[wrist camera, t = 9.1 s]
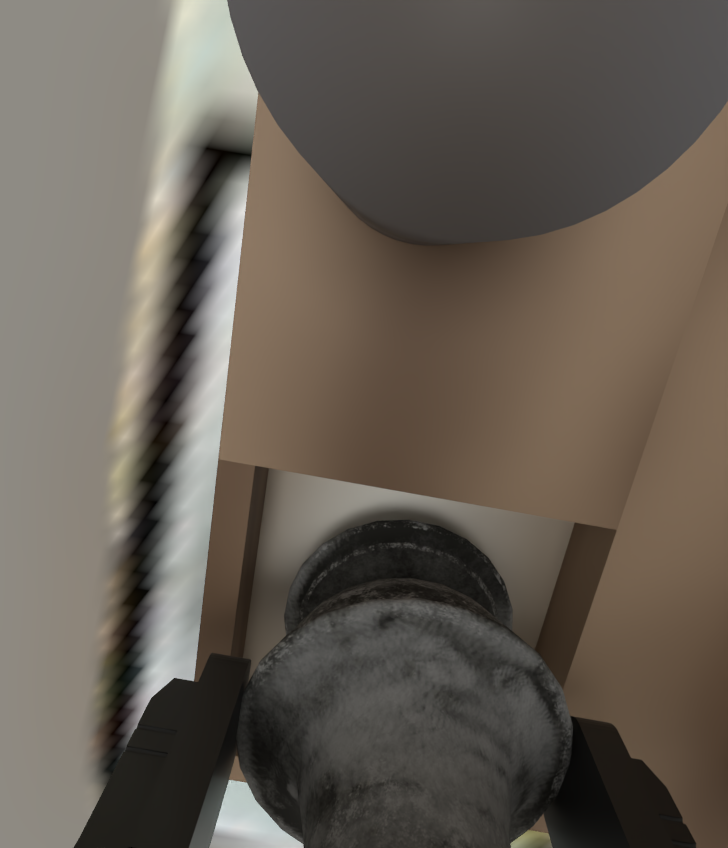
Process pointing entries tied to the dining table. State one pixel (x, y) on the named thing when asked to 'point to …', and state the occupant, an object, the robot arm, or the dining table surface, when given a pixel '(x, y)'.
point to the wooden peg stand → (496, 337)
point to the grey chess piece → (402, 700)
